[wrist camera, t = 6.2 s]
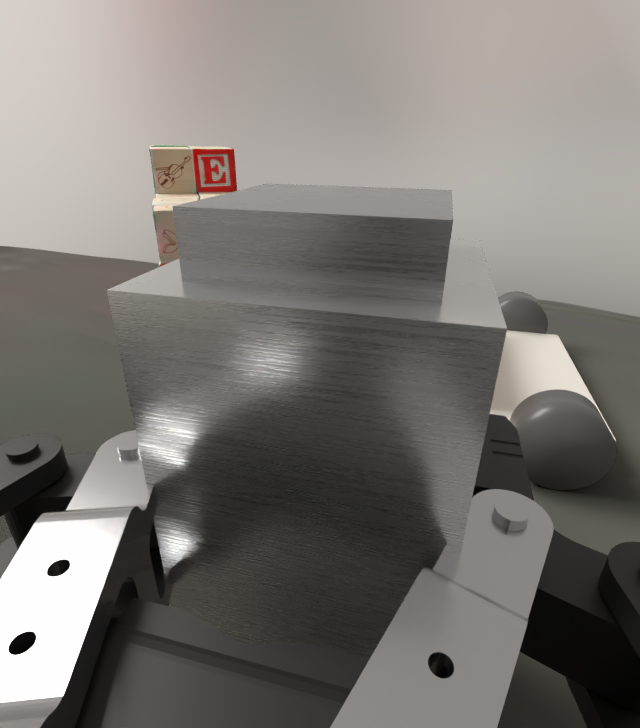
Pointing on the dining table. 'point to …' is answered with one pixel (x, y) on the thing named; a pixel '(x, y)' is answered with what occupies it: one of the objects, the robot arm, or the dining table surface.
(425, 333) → the grey tall block
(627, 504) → the dining table surface
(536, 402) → the chassis
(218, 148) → the stack of blocks
